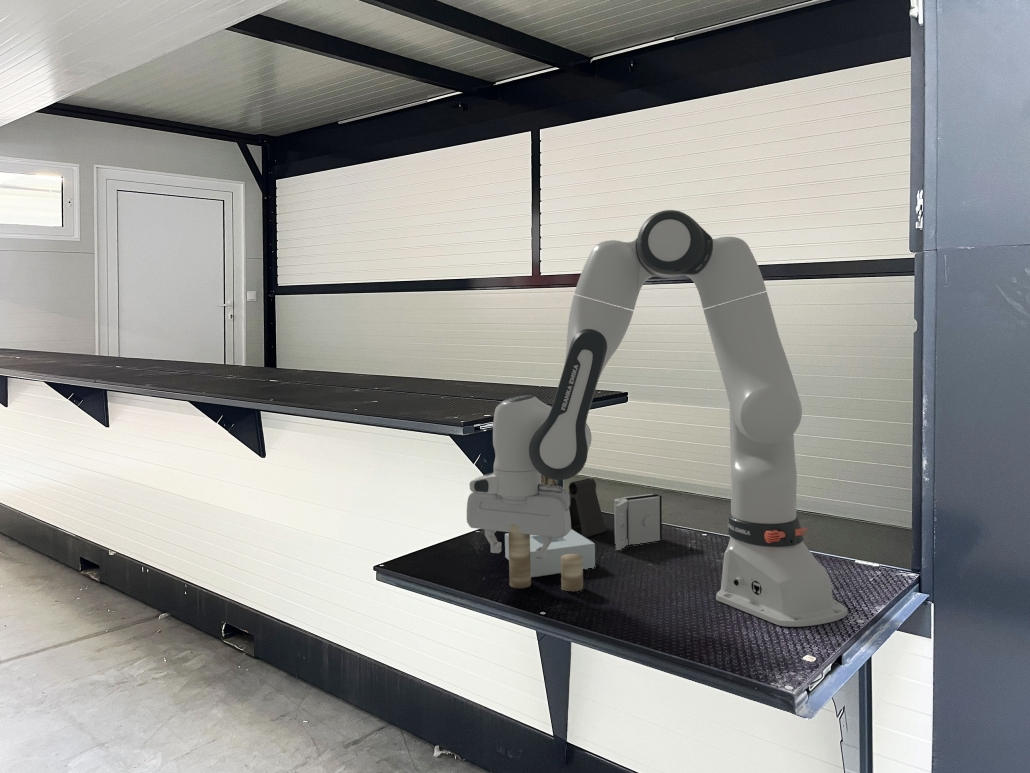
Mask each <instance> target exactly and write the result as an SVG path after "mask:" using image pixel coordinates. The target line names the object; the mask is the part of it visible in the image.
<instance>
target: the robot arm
mask: <svg viewBox="0 0 1030 773" xmlns="http://www.w3.org/2000/svg"><path fill="white" fill-rule="evenodd" d="M759 267H760V266H759V265H758V262H757V260H756V259H755V256H754V253H753V251H752V250H751V248H750V247H749V245H748V243H747V242H746V241H745V240H744V239H741V238H739V237H735V236H721V237H717V238H713V237H712V236H711V235H710V234H709V233H708V232H707V231H706V230H705V229H704V228H703V227H702V226H701V225H700V224H699V223H698V222H697V221H696V220H695V219H694V218H693V217H691V216H690V215H688V214H687V213H685V212H682V211H680V210H675V209H665V210H661V211H658V212H656V213H653V214H652V215H651V216H649V217H648V218H647V219H646V220H645V221H644V223H642V225H641V226H640V228H639V231H638V234H637V237H636V239H635V238H634V240H632V241H627V242H626V241H621V240H616V239H615V240H614V239H612V240H604V241H601V242H599V243H596V245H594V247H593V248H592V250H591V251H590V253H589V255H588V257H587V259H586V261H585V264H584V265H583V268H582V271H581V273H580V276H579V278H578V281H577V283H576V288H575V290H574V294H573V298H572V301H571V306H570V310H569V318H568V323H567V324H568V325H567V334H566V335H567V336H566V348H565V350H566V352H565V358H564V366H563V370H562V373H561V376H560V380H559V383H558V385H557V389H556V394H555V396H554V399H553V403H552V406H551V405H548V404H546V403H544V402H543V401H541V400H540V399H539V398H537V396H535V395H532V394H531V395H530V394H526V395H525V394H523V395H517V396H512V397H510V398H505V399H504V400H502V401H501V402H499V404H498V405H497V406H496V407H495V410H494V414H493V421H492V422H493V423H492V424H493V425H492V427H493V428H492V446H493V449H494V454H495V455H494V456H495V458H494V462H493V472H489V473H487V474H484V475H481V476H479V477H476V478H474V479H472V480H471V481H469V490H470V491H471V493H470V494H469V495H468V497H467V502H466V523H467V525H468V526H469V527H470V528H471V529H476V530H477V529H478V530H484V536H485V538H486V539H487V540H486V541H488V543H489V544H490V553H492V554H500V553H501V552H502V542H500V541H498V540H497V537H496V535H495V533H496V532H504V533H508V532H510V531H511V524H513V525H519V532H520V533H521V534H529V535H538V536H541V540H542V542H544V544H543V546H542V547H539V549H537V550H536V554H537V555H536V558H538V559H545V558H547V548H548V547H549V545H550V543H551V541H552V540H553V537H555V538H563V537H564V536H566V535H567V534H568V533H569V532H570V530H571V518H570V511H569V507H570V495H569V491H567V489H565V488H563V486H561V485H560V486H559V485H558V486H549V485H541V474H542V475H543V476H545V477H547V478H550V479H554V480H558V481H564V480H568V479H571V478H573V477H575V476H576V475H578V474H579V473H580V472H581V471H582V470H583V469H584V467H585V465H586V463H587V460H588V453H589V450H590V447H591V443H592V432H591V428H590V427H589V424H587V419H588V417H589V413H590V408H591V406H592V403H593V400H594V396H595V392H596V388H597V385H598V382H599V379H600V377H601V375H602V372H603V370H604V369H605V367H606V365H607V364H608V362H609V361H610V360H611V358H612V356H613V355H614V354H615V352H617V350H618V348H619V347H620V345H621V343H622V342H623V339H624V338H625V335H626V334H627V333H626V332H627V331H628V329H629V326H630V323H631V322H632V317H633V315H634V310H635V309H636V308H635V307H636V305H637V300H638V296H639V294H640V291H641V290H642V287H643V286H644V284H645V282H647V281H648V280H670V279H675V278H678V277H681V276H685V277H687V278H689V279H691V282H693V284H694V285H695V287H696V290H697V293H698V295H699V297H700V303H701V307H702V309H703V310H702V311H703V313H704V318H705V320H706V325H707V327H708V332H709V336H710V339H711V343H712V346H713V349H714V354H715V357H716V359H717V362H718V363H717V364H718V366H719V367H718V368H719V370H720V371H719V372H720V373H721V378H722V381H723V384H724V388H725V391H726V395H727V398H728V403H729V443H730V446H729V447H730V448H729V449H730V513H728V520H727V528H728V529H727V533H728V535H729V536H730V537H729V542H728V544H727V548H726V550H725V552H724V553H723V554H724V555H723V562H722V564H723V565H722V572H721V573H722V574H721V586H720V590H719V591H717V592H716V596H715V600H716V601H718V602H719V603H723V604H725V605H728V606H730V607H732V608H734V609H738V610H740V611H742V612H745V613H747V614H750V615H752V616H755V617H757V618H760V619H762V620H765V621H767V622H769V623H772V624H775V625H777V626H781V627H791V628H792V627H798V628H799V627H809V626H811V627H812V626H818V625H823V624H829V623H833V622H837V621H840V620H841V619H844V618H845V617H847V616H848V615H849V611H848V610H849V609H848V608H847V606H845V605H843V604H842V603H840V602H839V601H837V600H836V599H835V598H833V588H832V587H833V586H832V581H831V577H830V575H829V574H828V572H827V568H826V567H825V566H824V565H822V564H820V563H819V561H818V560H817V559H816V558H815V556H814V555H813V553H812V552H811V551H810V549H809V548H808V547H807V546H806V544H805V542H804V539H805V538H804V535H808V533H807V532H804V531H807V530H808V528H807V527H801V523H800V520H799V517H798V516H797V482H798V481H797V478H798V476H797V474H798V472H797V466H796V464H797V463H796V453H795V452H796V450H795V437H794V434H795V433H796V431H797V430H798V427H799V426H800V424H801V421H802V418H803V417H802V416H803V407H802V403H801V400H800V396H799V392H798V389H797V386H796V383H795V380H794V377H793V374H792V370H791V368H790V364H789V361H788V359H787V356H786V352H785V350H784V347H783V344H782V341H781V338H780V334H779V331H778V328H777V327H778V326H777V324H776V320H775V316H774V313H773V310H772V309H773V308H772V306H771V303H770V302H771V301H770V298H769V295H768V290H767V288H766V284H765V282H764V281H765V280H764V278H763V275H762V272H761V269H760V268H759Z"/></svg>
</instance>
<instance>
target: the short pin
mask: <svg viewBox="0 0 1030 773" xmlns="http://www.w3.org/2000/svg"><path fill="white" fill-rule="evenodd" d="M560 576H561V578H560V582H561V585H560V587H561V588H560V589H561V591H562V590H565V591H573V592H574V591H579V590H582V589H583V590H584V570H583V557H582V556H581V555H578V554H566V555H563V556H561V573H560ZM583 590H582V591H583Z"/></svg>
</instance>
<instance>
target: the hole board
mask: <svg viewBox="0 0 1030 773" xmlns="http://www.w3.org/2000/svg"><path fill="white" fill-rule="evenodd" d="M543 544H544V542H542V540H541V536H538V535H530V564H531V578H534V577H535V578H536V577H542V576H550V575H556V574H561V556H563V555H566V554H578V555H581V556H582V557H583V569H585V570H589V569H588V568H592V569H595V568H596V544H595V543H594V542H593V541H592V540H590V539H588V538H587V537H583V536H582V535H580V534H578V533H577V532H575V531H574V530H572V529H571V530H570V532H569V533H568V534H567V535H566V536H564V537H563V538H555V537H553V540H552V541H551V543H550V545H549V547H548V548H547V558H545V559H538V558H536V555H537V554H536V550H537V549H539V547H542V546H543ZM504 548H505V549H504V552H505V554H504V555H505V556H504V558H506V559H507V560H508V561H509V535H508V532H506V533H504ZM594 567H595V568H594Z"/></svg>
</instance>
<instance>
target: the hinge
mask: <svg viewBox="0 0 1030 773" xmlns="http://www.w3.org/2000/svg"><path fill="white" fill-rule="evenodd" d="M662 499H663V498H662V495H659V494H657V493H654V494H653V493H648V494H638V495H632V496H630V495H629V496H623V497H621V498H619V497H618V498H615V499H614V501H613V502H614V508H613V511H614V515H613V516H614V545H615V544H616V545H615V551H616V550H621V549H622V548H624V547H625V546H626V545H628V544H629V545H630V544H640V543H647V542H653V541H659V540H660V539H662V540H663V531H662V530H663V525H662V524H663V523H662V520H663V519H662V517H663V515H662V513H663V511H662ZM660 541H661V540H660ZM653 543H654V542H653ZM647 544H648V543H647ZM640 545H641V544H640ZM624 549H625V548H624ZM621 551H622V550H621Z"/></svg>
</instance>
